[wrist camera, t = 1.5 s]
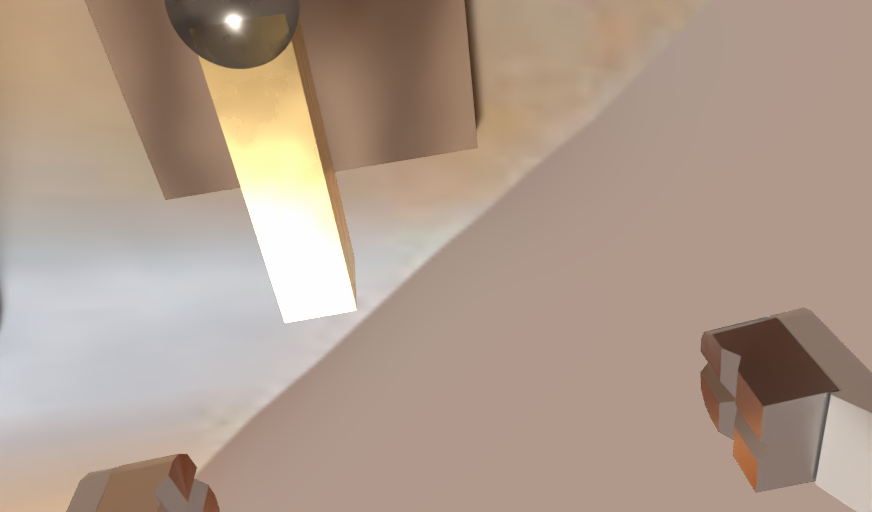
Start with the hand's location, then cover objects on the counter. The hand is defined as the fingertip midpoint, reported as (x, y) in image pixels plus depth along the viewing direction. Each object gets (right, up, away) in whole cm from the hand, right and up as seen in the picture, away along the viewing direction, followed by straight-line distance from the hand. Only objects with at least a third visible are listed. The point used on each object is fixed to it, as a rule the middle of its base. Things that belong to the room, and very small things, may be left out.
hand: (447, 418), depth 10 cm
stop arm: (-6, +8, +16) cm, 19 cm away
